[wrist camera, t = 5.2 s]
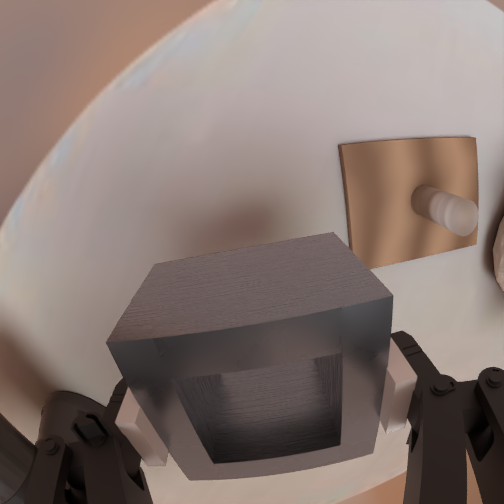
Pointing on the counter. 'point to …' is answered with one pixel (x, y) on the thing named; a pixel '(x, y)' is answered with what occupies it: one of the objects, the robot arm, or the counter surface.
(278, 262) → the collar
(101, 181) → the counter surface
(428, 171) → the post board
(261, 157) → the counter surface
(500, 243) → the ceramic vessel
